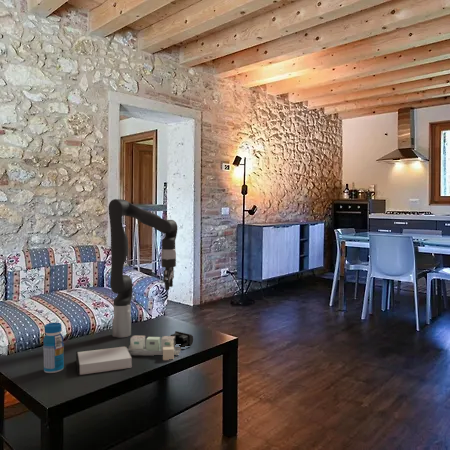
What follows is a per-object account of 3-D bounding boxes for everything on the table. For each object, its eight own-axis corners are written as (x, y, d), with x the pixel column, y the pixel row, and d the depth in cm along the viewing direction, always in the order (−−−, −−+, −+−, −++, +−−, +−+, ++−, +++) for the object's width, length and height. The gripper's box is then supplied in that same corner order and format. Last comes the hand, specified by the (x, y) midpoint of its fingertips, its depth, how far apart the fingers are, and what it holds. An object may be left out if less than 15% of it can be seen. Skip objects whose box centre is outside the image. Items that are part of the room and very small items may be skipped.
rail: (124, 354, 201) (124, 338, 200) (129, 349, 208) (129, 334, 207) (178, 356, 199) (178, 340, 199) (180, 351, 206) (180, 335, 206)
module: (146, 351, 202) (145, 339, 201) (148, 348, 206) (148, 336, 206) (158, 352, 201) (158, 339, 201) (160, 349, 205) (160, 337, 205)
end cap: (193, 346, 213) (193, 333, 213) (184, 350, 208) (184, 336, 207) (179, 342, 219) (179, 329, 219) (169, 346, 214) (169, 333, 213)
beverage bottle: (42, 374, 177) (41, 327, 176) (44, 367, 185) (43, 322, 184) (63, 372, 179) (62, 326, 179) (65, 365, 187) (64, 321, 187)
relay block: (162, 360, 193) (162, 349, 193) (163, 357, 197) (163, 346, 197) (173, 360, 194) (173, 349, 194) (173, 357, 198) (173, 346, 198)
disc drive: (75, 362, 193) (75, 351, 192) (125, 355, 201) (125, 345, 201) (77, 376, 176) (77, 364, 176) (131, 368, 185) (131, 357, 184)
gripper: (164, 256, 228) (164, 285, 228) (158, 259, 214) (158, 290, 214) (178, 256, 227) (178, 285, 228) (173, 259, 213) (173, 291, 214)
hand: (168, 288), depth 221 cm, fingers open, 8 cm apart
